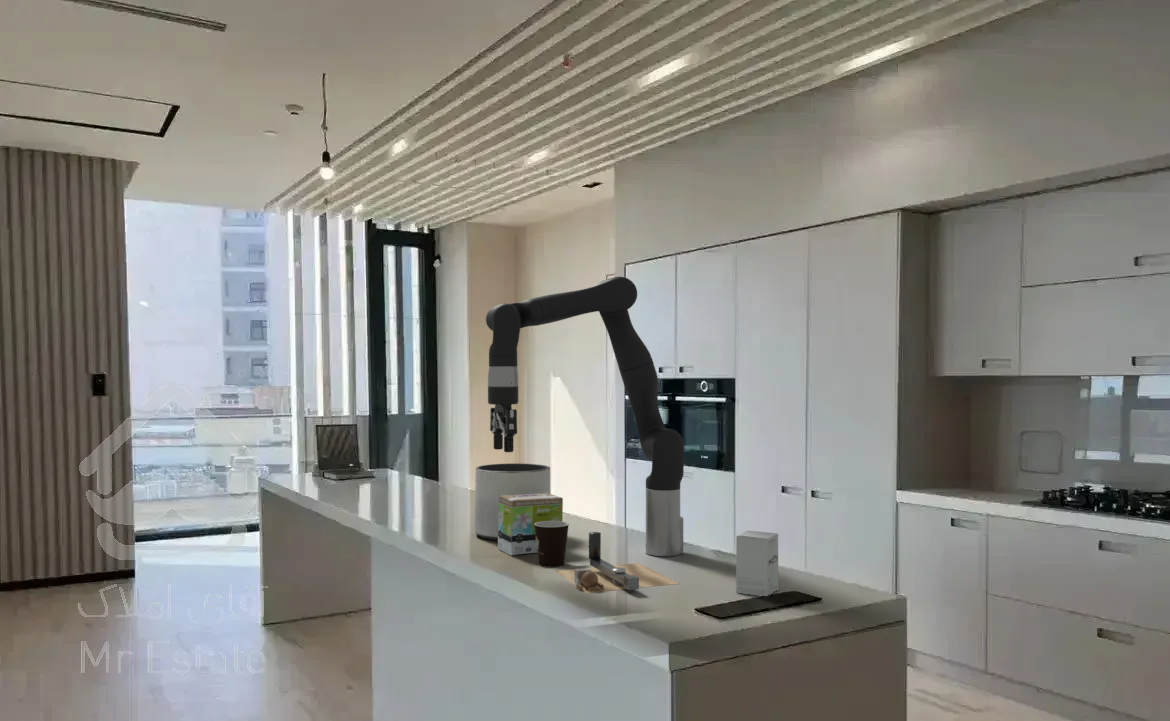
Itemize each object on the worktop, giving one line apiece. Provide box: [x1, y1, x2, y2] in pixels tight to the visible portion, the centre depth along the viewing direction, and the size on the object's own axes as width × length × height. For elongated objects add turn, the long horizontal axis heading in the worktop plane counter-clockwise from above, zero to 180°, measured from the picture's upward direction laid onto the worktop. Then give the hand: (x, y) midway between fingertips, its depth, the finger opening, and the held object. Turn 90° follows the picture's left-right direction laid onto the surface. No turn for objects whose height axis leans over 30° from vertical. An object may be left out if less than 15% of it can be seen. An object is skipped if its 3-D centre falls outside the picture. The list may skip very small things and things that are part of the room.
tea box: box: [497, 493, 564, 556], centre depth 220 cm, size 15×10×15 cm, turn 117°
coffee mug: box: [534, 521, 570, 568], centre depth 205 cm, size 12×9×10 cm
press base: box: [554, 562, 680, 594], centre depth 185 cm, size 23×21×4 cm
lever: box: [588, 531, 640, 591], centre depth 182 cm, size 24×3×8 cm, turn 21°
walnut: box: [582, 571, 598, 588], centre depth 176 cm, size 4×4×4 cm
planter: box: [473, 462, 551, 542], centre depth 241 cm, size 23×23×20 cm
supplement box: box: [735, 530, 779, 597], centre depth 178 cm, size 7×7×13 cm
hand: (503, 450), depth 200 cm, fingers open, 8 cm apart
